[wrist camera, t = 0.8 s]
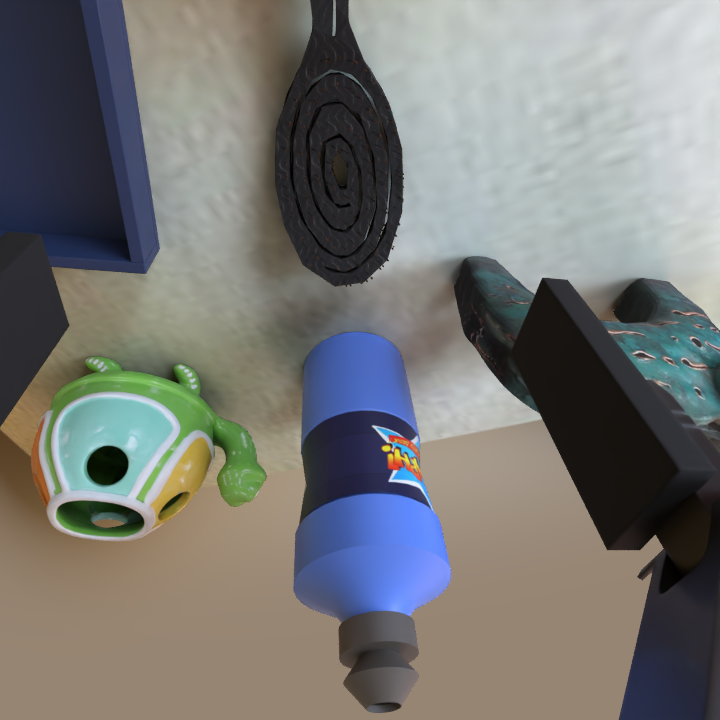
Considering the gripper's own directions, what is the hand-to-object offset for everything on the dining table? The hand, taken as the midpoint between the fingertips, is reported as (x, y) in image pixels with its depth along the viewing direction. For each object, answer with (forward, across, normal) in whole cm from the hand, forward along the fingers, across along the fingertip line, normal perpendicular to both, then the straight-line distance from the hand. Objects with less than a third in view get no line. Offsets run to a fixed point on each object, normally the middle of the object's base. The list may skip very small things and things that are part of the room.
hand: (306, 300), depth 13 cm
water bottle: (+21, +5, -20) cm, 30 cm away
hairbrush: (+21, +1, +2) cm, 21 cm away
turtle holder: (+21, -12, -26) cm, 35 cm away
